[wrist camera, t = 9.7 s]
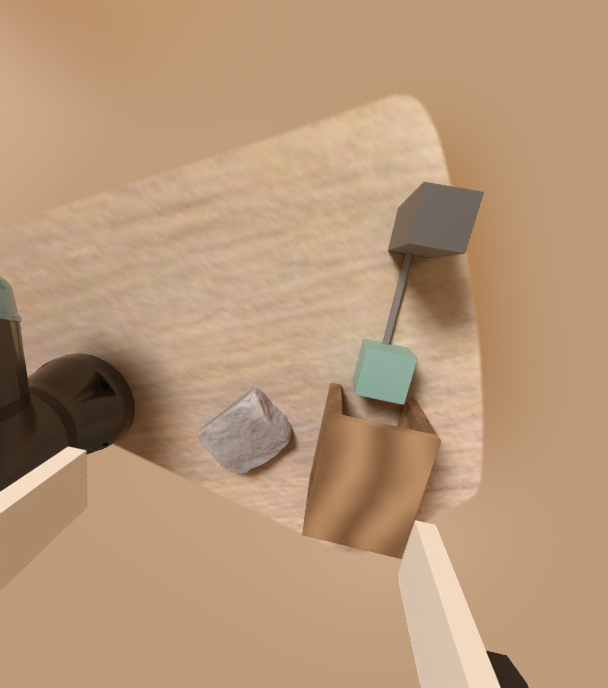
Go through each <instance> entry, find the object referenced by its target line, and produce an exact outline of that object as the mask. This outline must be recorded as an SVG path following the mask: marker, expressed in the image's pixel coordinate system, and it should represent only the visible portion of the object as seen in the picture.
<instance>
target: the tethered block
mask: <svg viewBox="0 0 608 688" xmlns="http://www.w3.org/2000/svg"><path fill="white" fill-rule="evenodd" d="M483 193H484V192H481V191H475V190H469V189H463V188H457V187H451V186H445V185H439V184H433V183H427V182H423V183H422V184H421V185H420V186H419V187H418V188H417V189H416V190H415V191H414V192H413V193H412V194H411V195H410V196H409V197H408V198H407V199H406V201H405V202H404V203H403V204H402V205H401V206H400V207H399V208H398V211H397V216H396V220H395V224H394V228H393V232H392V236H391V240H390V245H389V249H388V251H393V252H398V253H404V254H405V257H404V261H403V265H402V269H401V273H400V277H399V281H398V284H397V288H396V292H395V296H394V300H393V304H392V308H391V312H390V316H389V320H388V323H387V327H386V331H385V335H384V339H383V343H382V342H377V341H372V340H367V339H363V340H362V344H361V349H360V353H359V357H358V361H357V365H356V370H355V374H354V378H353V384H354V391H355V395H360V396H364V397H369V398H374V399H379V400H383V401H388V402H393V403H398V404H402V405H404V403H405V400H406V396H407V393H408V389H409V386H410V382H411V379H412V376H413V372H414V369H415V365H416V362H417V357H416V356H415V355H414V354H413V353H412V352H411V351H410V350H409V349H408V348H407V347H402V346H397V345H392V344H389V342H390V338H391V334H392V330H393V327H394V323H395V319H396V315H397V311H398V308H399V304H400V300H401V296H402V292H403V289H404V285H405V281H406V277H407V273H408V269H409V266H410V262H411V258H412V255H415V256H420V257H426V258H433V257H441V256H449V255H457V254H465V252H466V249H467V246H468V242H469V239H470V236H471V233H472V230H473V226H474V223H475V219H476V216H477V213H478V210H479V207H480V203H481V200H482V197H483Z"/></svg>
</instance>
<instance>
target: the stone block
mask: <svg viewBox="0 0 608 688" xmlns="http://www.w3.org/2000/svg"><path fill="white" fill-rule="evenodd" d="M198 438H199V440H200V442H201V444H202V445H203V446H204V447H205V448H206V449H207V450H208V451H209V452H210V453H211V455H212V456H213V457H214V458H215V459H216V460H217V461H218V462H219V463H220V464H221V465H222V466H223V467H225V468H226V469H227V470H229V471H230V472H237V473H238V474H240V473H247V472H248V471H249V470H250V469H251V468H255V467H258V466H260V465H262V464H264V463H265V462H267V461H268V460H269V459H271V458H273V457H275V456H276V455H277V454H278V453H279V451H280V450H282V449H283V448H284V447H285V446H286V445H287V444H288V443H289V441H290V439H291V425H290V423H289V422H288V420H287V418H286V416H285V415H284V413H283V412H281V411H280V410H279V409H278V408H277V407H276V406H274V405H273V404H272V403H271V402H270V400H269V399H268V398H267V397H266V396H265V395H264V394H263V393H262V392H261V391H260V390H259V389H258V388H254V389H252V390H251V391H250V392H248V393H247V394H246V395H244V396H243V397H242V398H240V399H239V400H238V401H237V402H235V403H234V404H232V405H231V406H230V407H229V408H227V409H226V410H225V411H223V412H222V413H221V414H220V415H218V416H217V417H216V418H214V419H213V420H212V421H210V422H209V423H207V424H206V425H205V426H204V427H203V428H202V429H201V431H200V432H199V433H198Z"/></svg>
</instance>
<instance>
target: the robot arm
mask: <svg viewBox="0 0 608 688" xmlns="http://www.w3.org/2000/svg"><path fill="white" fill-rule="evenodd" d="M20 322H21V317H20V316H19V315H18V311H17V307H16V303H15V299H14V294H13V290H12V287H11V286H10V284H9V283H8V282H7V281H6V280H5V279H3V278H2V277H0V591H1V590H2V589H3V588H4V587H5V586H6V585H7V584H8V583H9V582H10V581H11V580H12V579H13V578H14V577H15V576H16V575H17V574H18V573H19V572H20V571H21V570H22V569H23V568H24V567H25V566H27V565H28V564H29V563H30V561H32V560H33V559H34V558H35V557H36V556H37V555H38V554H39V553H40V552H41V551H42V550H43V549H44V548H45V547H46V546H47V545H48V544H49V543H50V542H51V541H52V540H53V539H55V537H57V536H58V535H59V534H60V533H61V532H62V531H63V530H64V529H65V528H66V527H67V526H68V525H69V524H70V523H71V522H72V521H73V520H74V519H75V518H76V517H77V516H78V515H79V514H80V513H81V512H83V511H84V509H86V508H87V466H86V465H87V463H86V455H87V454H90V453H93V452H95V451H98V450H101V449H104V448H106V447H108V446H110V445H111V444H113V443H114V442H115V441H117V440H118V439H119V438H121V437H122V436H123V435H124V434H125V433H126V432H127V431H128V429H129V427H130V426H131V423H132V420H133V416H134V402H133V397H132V394H131V391H130V389H129V387H128V385H127V383H126V382H125V380H124V379H123V377H122V376H121V375H120V374H119V373H118V372H117V371H116V370H115V369H114V368H113V367H112V366H111V365H109V364H108V363H106V362H105V361H103V360H101V359H99V358H97V357H94V356H91V355H86V354H70V355H66V356H63V357H60V358H57V359H54V360H51V361H49V362H47V363H46V364H44V365H43V366H41V367H40V368H39V369H38V370H37V371H36V372H35V373H33V374H32V375H31V376H29V377H27V371H26V364H25V358H24V351H23V343H22V335H21V328H20ZM398 581H399V586H400V591H401V596H402V601H403V605H404V610H405V615H406V619H407V624H408V629H409V634H410V639H411V644H412V649H413V653H414V658H415V663H416V668H417V673H418V677H419V682H420V687H421V688H528V685H527V683H526V682H525V680H524V679H523V677H522V676H521V675H520V673H519V672H518V670H517V669H516V668H515V667H514V665H513V664H512V662H511V661H510V659H509V658H508V657H507V655H502V654H498V653H494V652H489V651H486V650H485V648H484V645H483V643H482V640H481V638H480V635H479V633H478V630H477V628H476V625H475V622H474V620H473V618H472V615H471V613H470V610H469V607H468V605H467V602H466V600H465V597H464V595H463V592H462V590H461V587H460V585H459V582H458V580H457V577H456V575H455V572H454V570H453V567H452V565H451V562H450V560H449V557H448V555H447V553H446V550H445V547H444V545H443V542H442V540H441V537H440V535H439V532H438V530H437V528H436V525H434V524H430V523H425V522H421V521H416V520H415V522H414V525H413V529H412V532H411V535H410V538H409V541H408V544H407V547H406V551H405V554H404V557H403V560H402V563H401V566H400V569H399V573H398Z"/></svg>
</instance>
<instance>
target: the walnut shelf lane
mask: <svg viewBox="0 0 608 688" xmlns="http://www.w3.org/2000/svg"><path fill="white" fill-rule="evenodd" d="M440 443H441V440H440V439H439V437H438V435H437V434H436V432H435V431H434V429H433V427H432V426H431V424H430V422H429V421H428V419H427V417H426V416H425V414H424V412H423V411H422V409H421V407H420V406H419V404H418V402H417V401H416V400H411V399H406V400H405V403H404V405H403V409H402V412H401V416H400V419H399V423H398V426H392V425H387V424H383V423H378V422H373V421H369V420H364V419H359V418H355V417H350V416H345V415H342V396H341V385H339V384H334V383H330V387H329V392H328V397H327V401H326V406H325V410H324V415H323V420H322V424H321V429H320V433H319V438H318V443H317V447H316V452H315V456H314V461H313V466H312V470H311V475H310V480H309V487H308V495H307V503H306V511H305V518H304V526H303V534H302V535H304V536H308V537H312V538H316V539H321V540H325V541H329V542H333V543H337V544H341V545H346V546H350V547H354V548H358V549H362V550H366V551H371V552H375V553H379V554H384V555H388V556H391V557H396V558H400V559H402V556H403V553H404V550H405V547H406V544H407V541H408V538H409V535H410V532H411V529H412V526H413V523H414V520H415V517H416V514H417V511H418V508H419V505H420V502H421V499H422V496H423V493H424V490H425V487H426V484H427V482H428V479H429V476H430V473H431V470H432V467H433V464H434V461H435V458H436V455H437V452H438V449H439V446H440Z"/></svg>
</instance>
